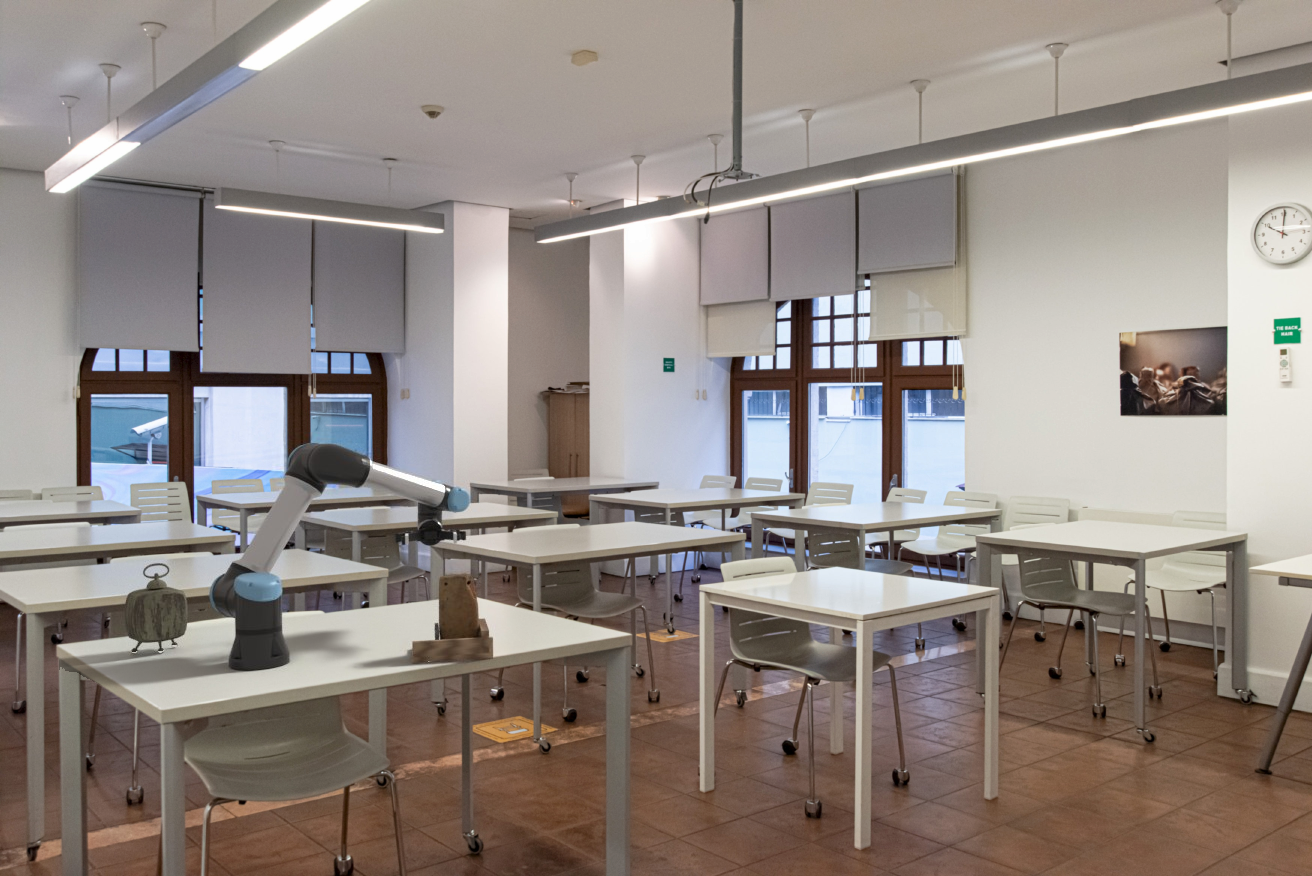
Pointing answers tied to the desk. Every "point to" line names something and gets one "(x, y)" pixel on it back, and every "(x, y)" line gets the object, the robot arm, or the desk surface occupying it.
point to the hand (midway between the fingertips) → (431, 539)
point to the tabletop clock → (156, 612)
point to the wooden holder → (454, 647)
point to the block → (458, 607)
